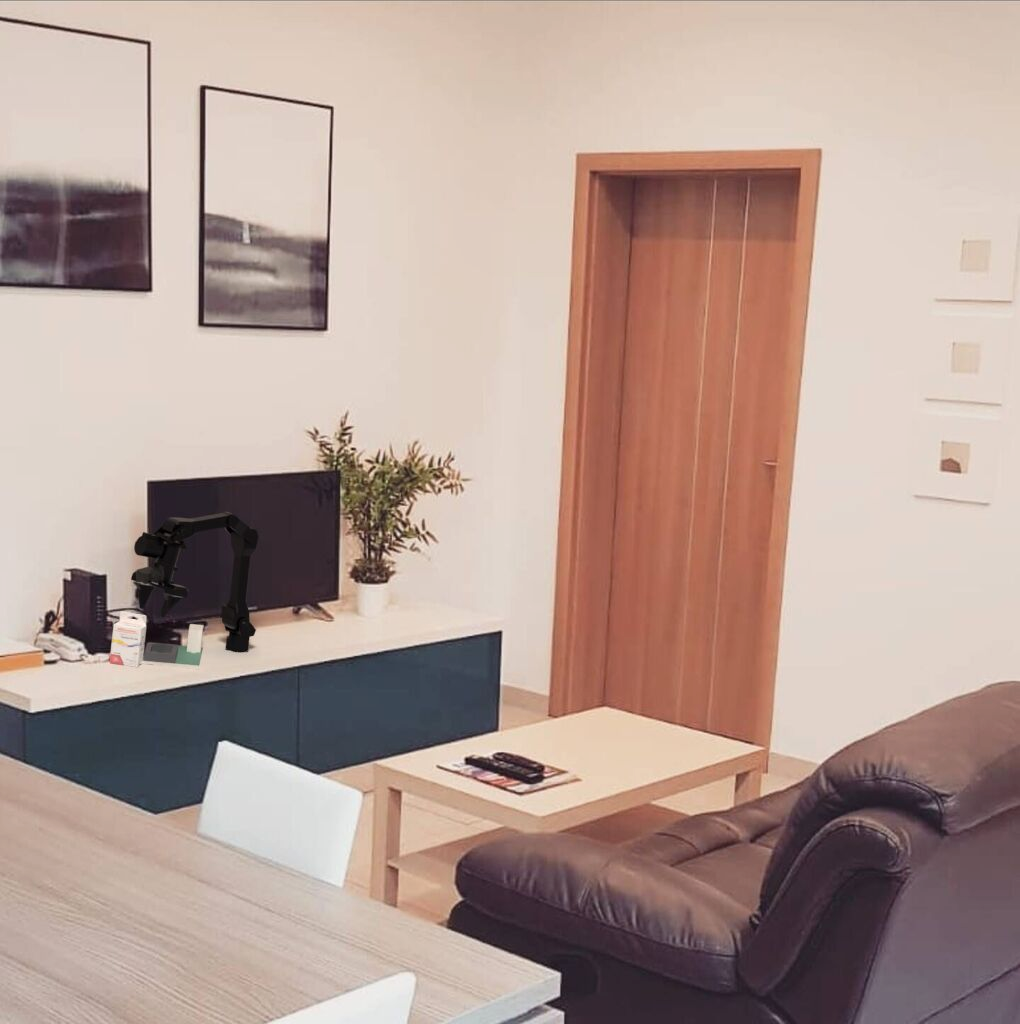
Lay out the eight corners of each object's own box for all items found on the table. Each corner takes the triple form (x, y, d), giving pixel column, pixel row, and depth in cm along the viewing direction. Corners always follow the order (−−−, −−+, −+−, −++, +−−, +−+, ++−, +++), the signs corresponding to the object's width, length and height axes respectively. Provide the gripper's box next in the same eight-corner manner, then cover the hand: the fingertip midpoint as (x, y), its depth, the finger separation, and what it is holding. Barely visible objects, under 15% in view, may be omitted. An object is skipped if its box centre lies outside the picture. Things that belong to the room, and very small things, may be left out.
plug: (201, 647, 468) (203, 625, 467) (200, 653, 461) (202, 631, 460) (188, 646, 467) (190, 624, 466) (186, 652, 460) (188, 629, 459)
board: (202, 650, 468) (203, 639, 467) (198, 668, 449) (200, 657, 448) (149, 646, 465) (150, 634, 465) (143, 664, 446) (144, 652, 445)
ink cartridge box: (108, 663, 442) (113, 614, 440) (114, 659, 447) (119, 610, 445) (137, 668, 441) (142, 618, 439) (143, 663, 446) (148, 614, 444)
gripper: (124, 549, 443) (109, 601, 443) (167, 565, 433) (152, 618, 433) (152, 554, 452) (138, 605, 452) (195, 570, 442) (181, 622, 442)
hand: (151, 612), depth 445 cm, fingers open, 9 cm apart
